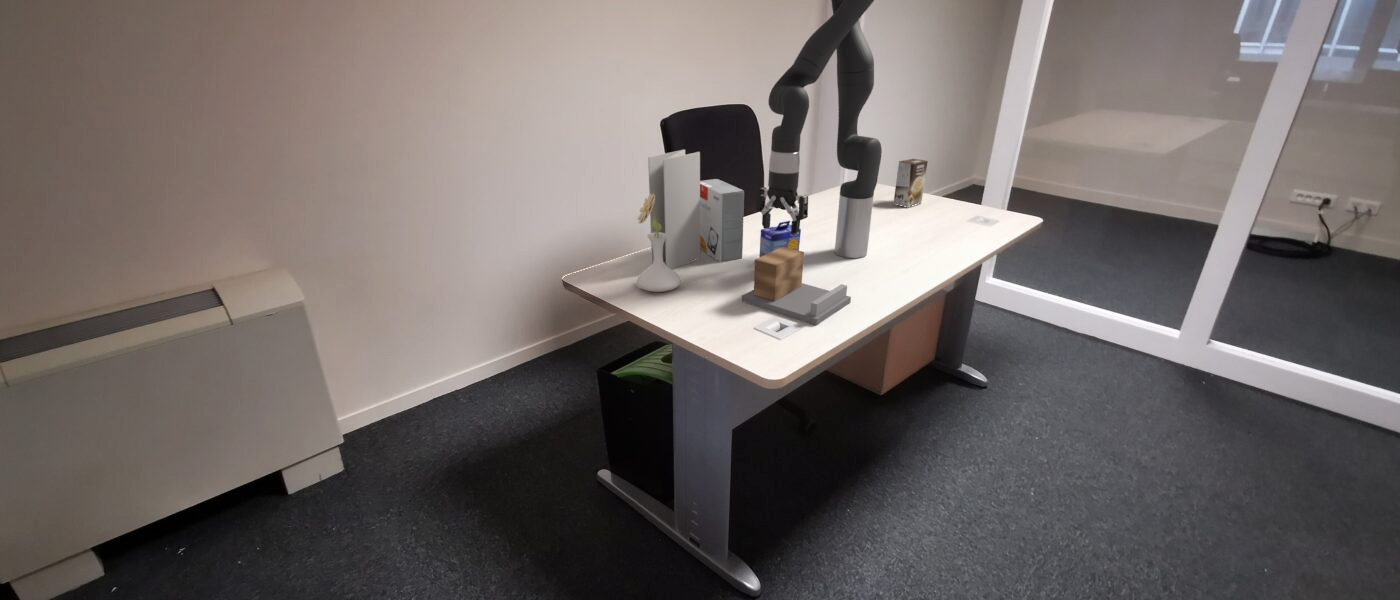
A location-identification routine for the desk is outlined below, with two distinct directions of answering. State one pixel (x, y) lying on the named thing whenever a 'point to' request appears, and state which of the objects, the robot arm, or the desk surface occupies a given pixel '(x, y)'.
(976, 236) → the desk surface
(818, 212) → the desk surface
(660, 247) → the flower in vase
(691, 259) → the brochure
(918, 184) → the coffee box
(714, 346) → the desk surface
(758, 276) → the cardboard box
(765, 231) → the ink cartridge box
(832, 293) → the shelf board
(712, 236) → the hard drive box
